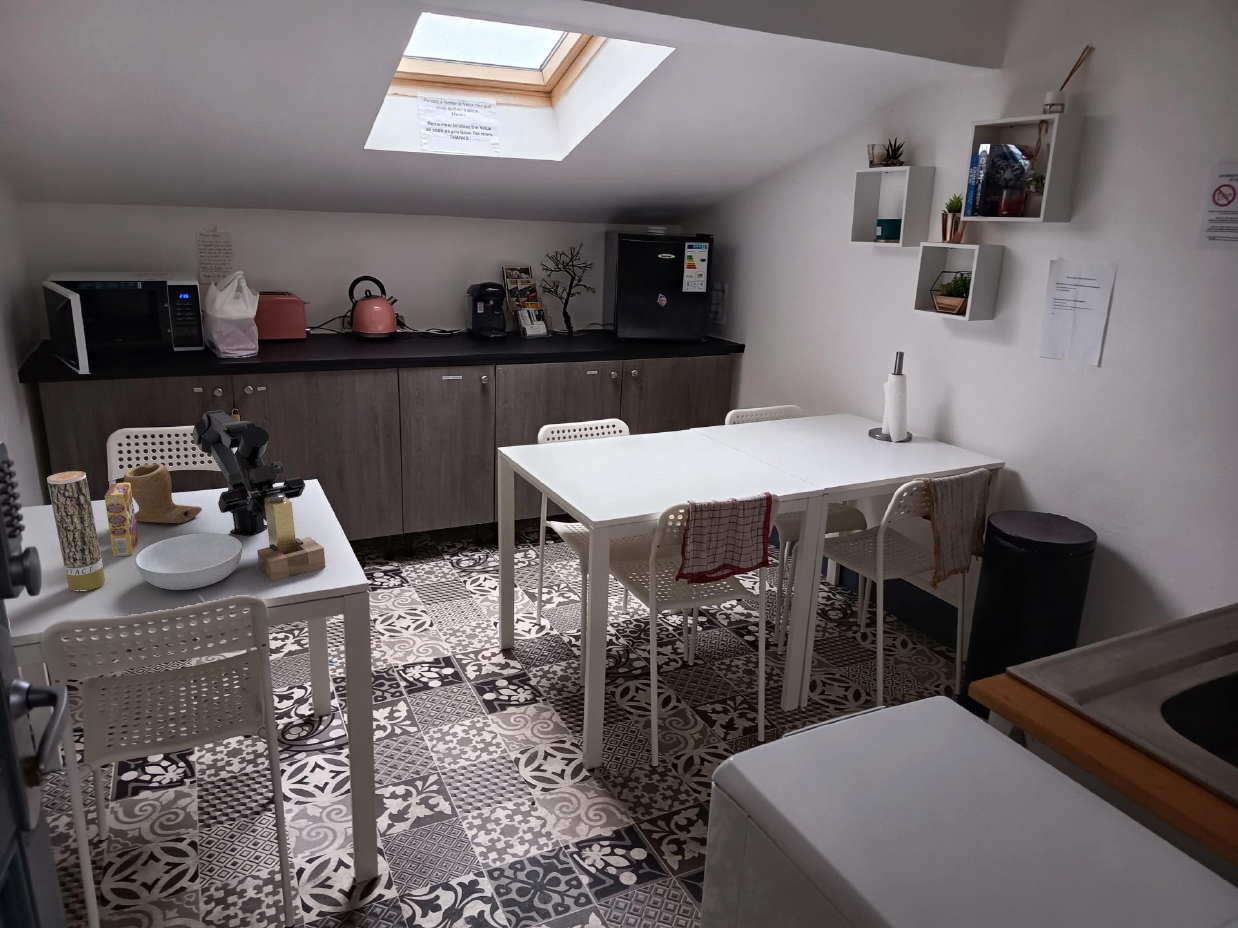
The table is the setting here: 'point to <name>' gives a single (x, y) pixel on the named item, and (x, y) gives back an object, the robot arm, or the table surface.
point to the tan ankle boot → (156, 495)
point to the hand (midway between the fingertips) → (274, 525)
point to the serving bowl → (189, 560)
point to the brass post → (280, 523)
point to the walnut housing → (291, 559)
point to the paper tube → (76, 530)
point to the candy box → (121, 519)
